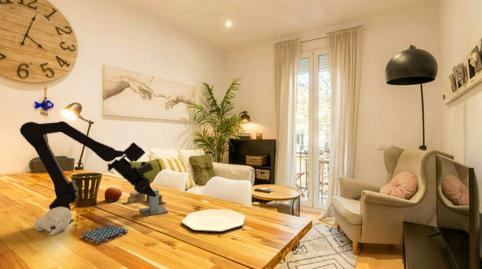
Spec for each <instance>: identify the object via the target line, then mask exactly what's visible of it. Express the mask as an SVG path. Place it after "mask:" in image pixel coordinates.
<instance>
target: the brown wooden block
mask: <svg viewBox="0 0 482 269" xmlns="http://www.w3.org/2000/svg"><path fill="white" fill-rule="evenodd" d="M145 201H146V202H148V203H149V195H146V194H145ZM165 204H167V202H166V201H163V195H162V194H159V206H163V205H165Z"/></svg>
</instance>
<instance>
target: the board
mask: <svg viewBox="0 0 482 269" xmlns="http://www.w3.org/2000/svg"><path fill="white" fill-rule="evenodd" d="M152 190H153V191H154V192H155V194H156V196H155V197H152V196H149V202H148V203H149V204H148V208H149V210H150V211H151V212H156V211H158V207H159V206H160V205H159V195H160V194H159V193H160V191H159V189H158V188H156V187H155V188H152Z"/></svg>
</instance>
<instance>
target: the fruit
mask: <svg viewBox="0 0 482 269" xmlns="http://www.w3.org/2000/svg"><path fill="white" fill-rule="evenodd" d="M122 195H123V192H122V190H121V189H120V188H118V187H113V186H112V187H107V188H106V189H105V191H104V201H105V202H109V203H110V204H111V202H117V201H119V200H120V198H121V197H122Z"/></svg>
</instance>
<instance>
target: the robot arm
mask: <svg viewBox="0 0 482 269" xmlns="http://www.w3.org/2000/svg"><path fill="white" fill-rule="evenodd" d="M19 133H20V134H21V136H22V137H23V139H24V140H26V142H28V144H29V145H30V146H32V147H33V149H34V150H35V152H36V154H37V155H38V157H39V159H40V161H41V162H42V164H43V167H44V169H45V170H46V172H47V174H48V176H49V178H50V180H51V181H52V183H53V188H54V195H55V198H54V199H53V201H51V203H50V204H49V205H48V208H49V211H50V210H51V209H53V208H57V207H65V208H68V209H69V210H70V211H71V205H70V204H73V203H74V202H75V200H76V199H77V197H78V195H79V189H80V188H79V187H78V186H77V185H76V181H75V179H72V180H69V179H68V178H67V177H66V175H65V172H64V171H63V169H62V167H61V165H60V163H59V162H58V159H57V158H56V156H55V153H54V152H53V150H52V148H51V146H50V144H49V138H48V135H49V134H57V133H62V134H64V135H66V136H67V137H69V138H71V139H72V140H74V141H76V142H78V143H80V144H81V145H83V146H85V147H86V148H88V149H89V150H91V151H92V152H93V153H94V154H95V155H96V156H98V158H100V159H102V160H103V161H104V162H107V171H108V172H111V170H112V169H114V170H115V171H116V172H117V173H118V174H119V175H120V176H121V177H122V178H123V179H124V180H126V181H127V182H128V183H129V184H130V185H132V187H133V189H134V190H135V192H138V193H142V194H145V196H146V195H149V196H152V197H155V196H156V194H155V192H154V191H153V190H152V189H153V188H152V187H151V180H150V179H149V178H148V177H147V176H146V175H145V174H147V173H149V172H152V171H153V170H154V167H153V165H152V163H151V162H150V161H149V162H145V161H141V162H140V165H139V166H137V167H136V166H135V165H133V164H132V163H133V162H135V163H136V162H137V161H138V160H140V158H142V157H143V156H144V155H145V154H146V151H145V150H144V149H143V148H142V147H141V146H139V145H138V144H136V143H135V142H132V143H130V144H129V146H128V147H126V148H125V149H124V150H117V149H115V148H114V147H112V146H109V145H107V144H105V143H102V142H99V141H97V140H95V139H93V138H92V137H90V136H89V135H86V134H85V133H84V132H82V131H80V130H78V129H76V128H75V127H73V126H72V125H70V124H69V123H68V122H65V121H57V122H45V123H44V122H43V123H39V122H34V121H27V122H25V123H23V124H22V125H21V126H20V128H19ZM117 158H119V159H117ZM127 159H128V160H127ZM108 162H111V163H108ZM74 221H75V219H73V218H71V221H70V223H69V225H70V224H72V223H73V222H74ZM52 228H55V226H53V227H52Z"/></svg>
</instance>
